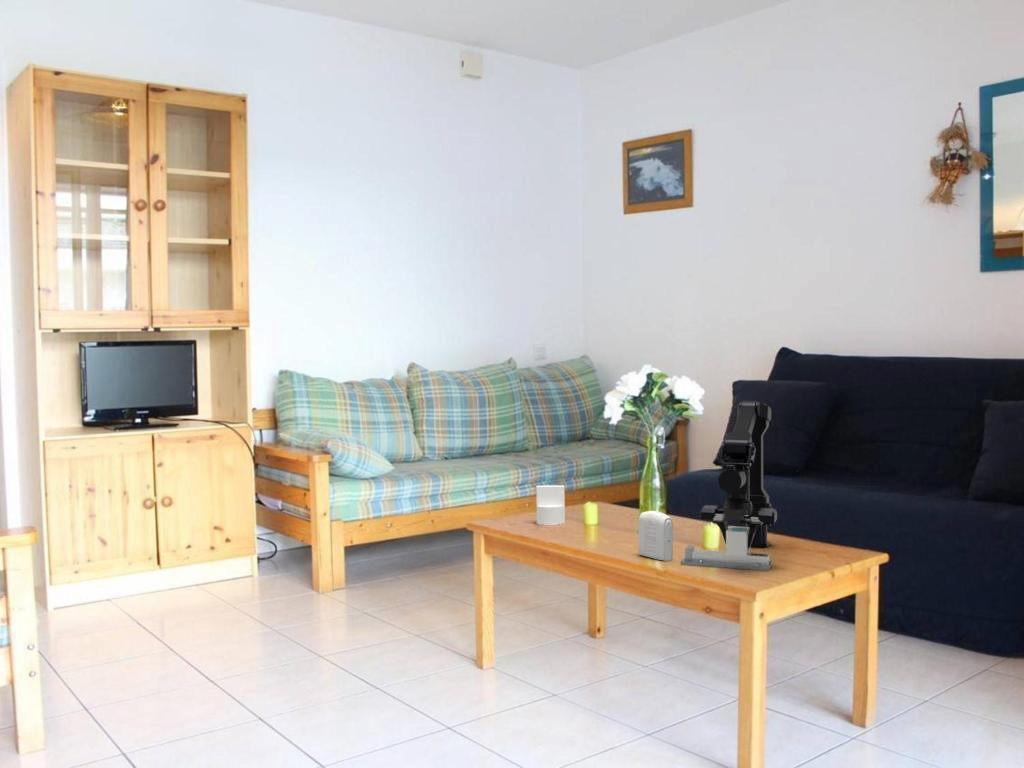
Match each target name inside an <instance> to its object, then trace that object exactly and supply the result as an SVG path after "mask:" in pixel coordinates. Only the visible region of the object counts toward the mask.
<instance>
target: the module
mask: <svg viewBox="0 0 1024 768" xmlns="http://www.w3.org/2000/svg"><path fill="white" fill-rule="evenodd" d="M748 536H749V527H746V526H737V525H736V526H735V525H732V526H731V525H730V526H728V530H727V531H726V543H725V551H726V555H738V556H747V553H748V552H750V551H751V547H750V548H748Z"/></svg>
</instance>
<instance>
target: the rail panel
mask: <svg viewBox="0 0 1024 768" xmlns="http://www.w3.org/2000/svg"><path fill="white" fill-rule="evenodd" d="M681 564H682V566H697V567H707V566H712V567H711V568H721V567H727V568H726V569H734V568H737V570H748V569H750V570H752V571H761V572H762V571H763V570H764V572H769V570H770V569H771V567H772V566H771V565H773V560H770V554H767V553H755V552H747V556H738V555H726V550H712V549H711V550H710V549H695V545H690V544H688V545H687V546H686V547H685V548H684V558H682V559H681V561H680V565H681ZM750 570H749V571H750Z"/></svg>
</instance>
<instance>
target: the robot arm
mask: <svg viewBox="0 0 1024 768" xmlns="http://www.w3.org/2000/svg"><path fill="white" fill-rule="evenodd" d="M736 413H737V414H736V415H737V416H736V417H737V418H736V421H735V425H734V427H733V431H731V432H729V433H727V434H726V437H725V438H724V441H722V443H721V447H720V448H721V449H720V454H719V455H720V456H719V463H718V465H719V466H724V469H723V470H722V472H721V473H720V474H719V476H718V480H717V481H718V483H717V484H718V486H719V488H721V490H722V491H725V492H726V497H725V501H724V505H723V508H722V509H721V508H720V509H719V505H707V504H705V505H703V506H702V507H701V508H700V510H699V520H712V524H716V525H717V526H718V527H719V530H720V532H721V534H722V537H723V539H724V544H726V531H727V530H728V528H729V522H728V521H730V520H731V521H733V520H734V521H738V522H739V524H745V527H749V536H748V548H750V549H751V547H754V548H755V547H756V548H768V547H769V545H770V544H771V542H770V541H769V540H768V526H772V525H775V523H776V521H777V520H778V511H777V510H776V509H775V508H773V506H772V503H770V496H769V494H768V493H767V491H766V490H765V488H764V435H765V433H766V432H767V430H768V428H769V426H770V421H771V420H772V409H771V407H770V406H769V405H767V404H766V403H761V402H760V401H757V400H742V401H740V402H739V404H737V412H736Z"/></svg>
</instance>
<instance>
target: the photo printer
mask: <svg viewBox="0 0 1024 768" xmlns="http://www.w3.org/2000/svg"><path fill="white" fill-rule="evenodd" d="M638 517H639V518H638V554H639V555H640V556H642V557H643V556H644V557H647V558H651V559H655V560H660V561H662V560H663V561H662V562H670V561H672V559H673V558H674V557H673V556H674V521H673V519H672V518H671V517H670V516H669V515H667V514H665V513H663V512H661V511H657V510H647V511H643V512H641V513H640V514H639V516H638Z"/></svg>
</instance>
